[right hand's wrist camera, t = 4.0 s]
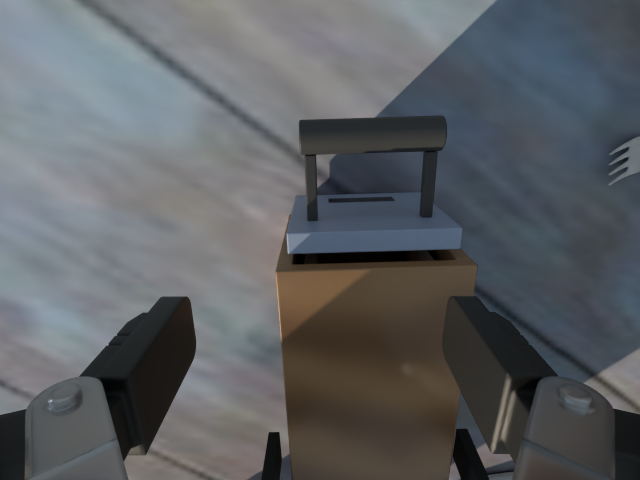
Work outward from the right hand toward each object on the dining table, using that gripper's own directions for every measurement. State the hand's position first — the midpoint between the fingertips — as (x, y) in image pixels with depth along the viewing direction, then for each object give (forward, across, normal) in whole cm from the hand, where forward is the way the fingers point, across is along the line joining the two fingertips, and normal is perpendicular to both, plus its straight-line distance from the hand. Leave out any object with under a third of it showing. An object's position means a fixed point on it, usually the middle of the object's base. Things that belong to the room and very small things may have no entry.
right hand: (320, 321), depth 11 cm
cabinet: (+17, +3, -11) cm, 20 cm away
